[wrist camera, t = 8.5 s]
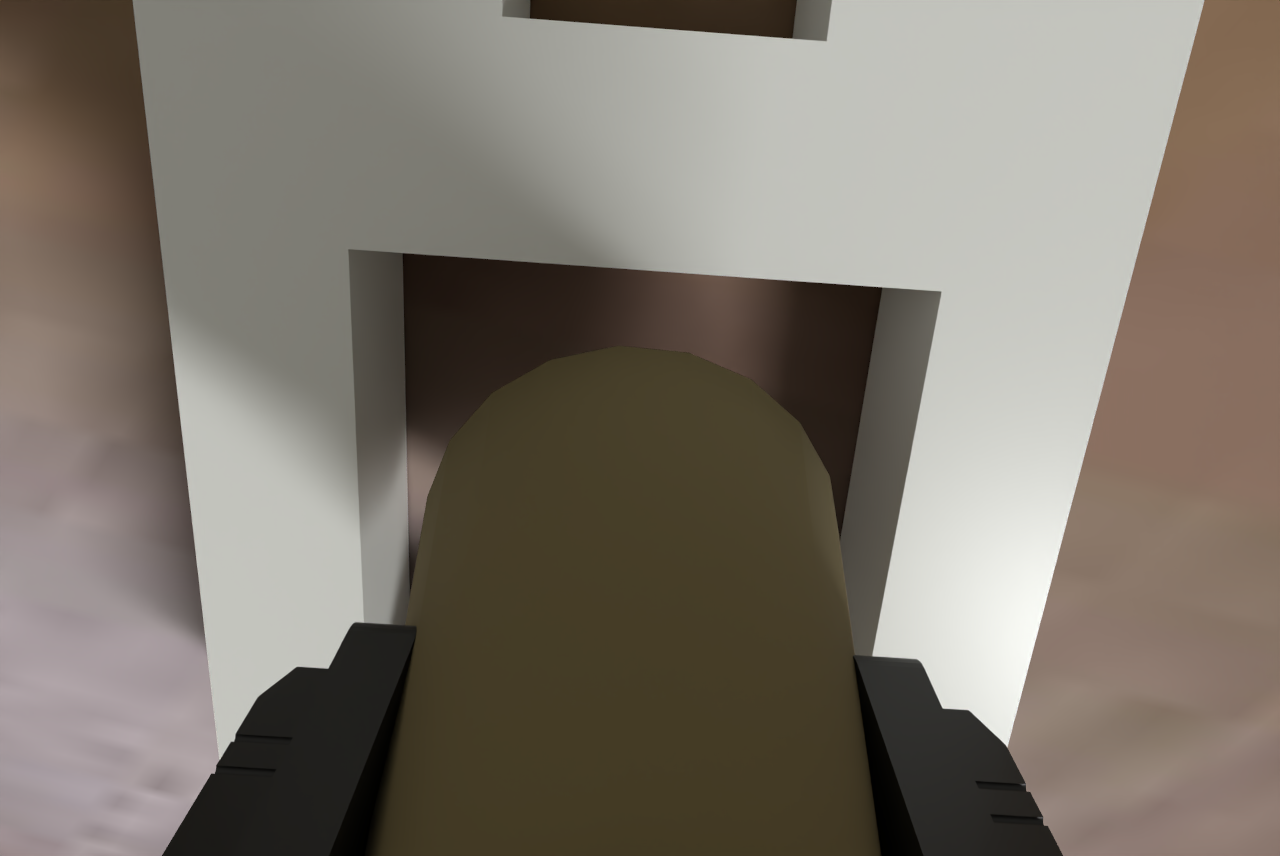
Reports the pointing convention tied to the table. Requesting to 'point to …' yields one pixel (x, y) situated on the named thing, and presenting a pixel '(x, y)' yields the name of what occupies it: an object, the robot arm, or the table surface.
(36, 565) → the table surface
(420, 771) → the olive knobbed peg
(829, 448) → the table surface
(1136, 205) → the socket board
